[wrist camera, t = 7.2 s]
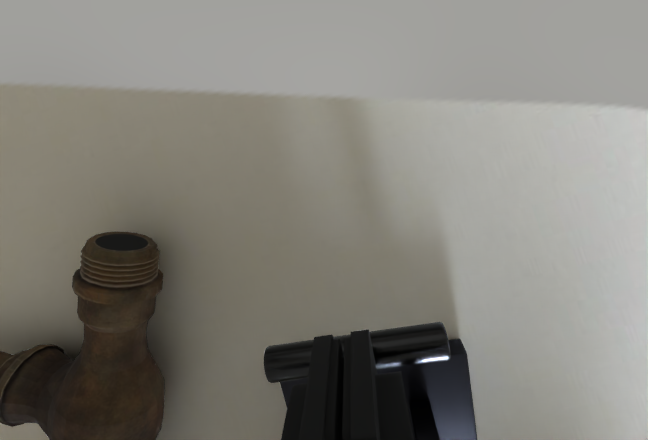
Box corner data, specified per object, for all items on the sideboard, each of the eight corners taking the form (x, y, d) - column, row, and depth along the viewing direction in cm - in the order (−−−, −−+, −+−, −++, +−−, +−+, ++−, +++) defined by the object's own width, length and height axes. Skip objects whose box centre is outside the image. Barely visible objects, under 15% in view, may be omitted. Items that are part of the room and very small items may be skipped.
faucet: (193, 290, 14) (-154, 194, 16) (151, 621, 18) (-118, 515, 20) (243, 251, 19) (-32, 180, 20) (200, 522, 23) (-23, 444, 25)
